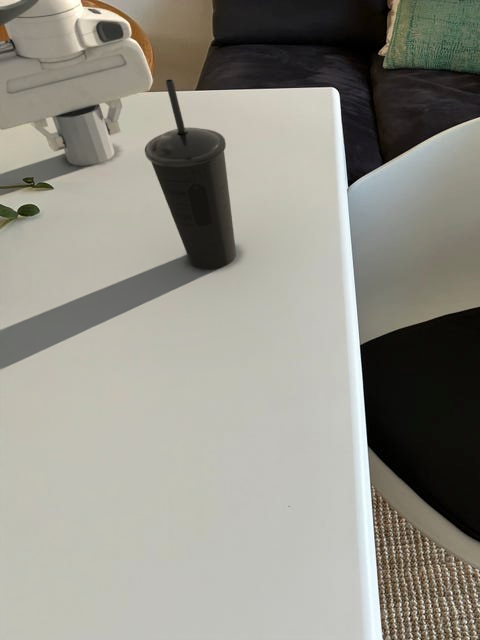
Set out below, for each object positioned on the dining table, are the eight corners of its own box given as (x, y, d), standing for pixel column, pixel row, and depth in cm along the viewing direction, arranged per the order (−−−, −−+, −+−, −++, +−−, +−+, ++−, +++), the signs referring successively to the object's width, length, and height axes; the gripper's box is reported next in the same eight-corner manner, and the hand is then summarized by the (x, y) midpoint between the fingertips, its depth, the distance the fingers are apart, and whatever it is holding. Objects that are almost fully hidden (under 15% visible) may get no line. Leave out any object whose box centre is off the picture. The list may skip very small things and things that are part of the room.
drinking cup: (264, 252, 87) (228, 73, 74) (219, 287, 82) (172, 102, 69) (209, 236, 89) (165, 60, 76) (162, 269, 84) (107, 87, 71)
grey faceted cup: (63, 170, 101) (44, 118, 97) (75, 150, 106) (57, 100, 101) (110, 167, 102) (93, 116, 97) (119, 148, 106) (103, 98, 102)
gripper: (-36, 59, 86) (12, 173, 95) (141, 20, 96) (169, 126, 106) (-54, 44, 89) (-6, 156, 98) (120, 8, 100) (149, 112, 109)
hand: (86, 140), depth 102 cm, fingers closed on grey faceted cup, 6 cm apart
